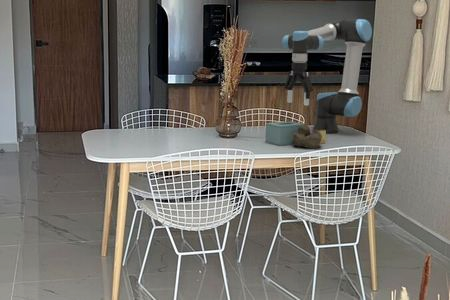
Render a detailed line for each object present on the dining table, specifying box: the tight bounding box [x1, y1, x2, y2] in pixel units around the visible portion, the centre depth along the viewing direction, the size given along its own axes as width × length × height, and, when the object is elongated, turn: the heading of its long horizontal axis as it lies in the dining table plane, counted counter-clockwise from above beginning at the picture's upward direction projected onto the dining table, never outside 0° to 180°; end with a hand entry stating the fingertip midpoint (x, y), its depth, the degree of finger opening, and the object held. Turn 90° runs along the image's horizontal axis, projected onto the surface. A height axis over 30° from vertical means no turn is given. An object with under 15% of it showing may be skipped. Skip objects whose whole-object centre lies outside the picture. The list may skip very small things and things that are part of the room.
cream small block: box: [318, 130, 327, 145], centre depth 306 cm, size 6×3×7 cm, turn 123°
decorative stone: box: [292, 124, 322, 150], centre depth 298 cm, size 16×11×15 cm
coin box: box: [264, 120, 306, 147], centre depth 308 cm, size 16×12×10 cm
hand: (297, 104), depth 304 cm, fingers open, 13 cm apart
